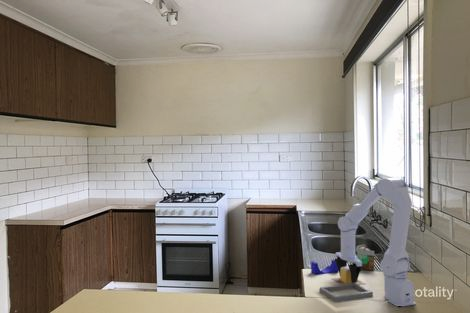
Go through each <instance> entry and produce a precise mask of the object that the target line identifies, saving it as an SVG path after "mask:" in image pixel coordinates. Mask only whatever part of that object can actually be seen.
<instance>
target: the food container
mask: <svg viewBox="0 0 470 313" xmlns="http://www.w3.org/2000/svg"><path fill="white" fill-rule="evenodd" d="M355 253H357V258H358V259H359V260H360V261H362V265H363V268H362V269H363V270H367V271H373V272H374V271H375V269H374V268H375V257H376V256H375V250H371V249H370V248H368V247H366V244H360V245H357V246H356V247H355ZM362 269H361V270H362Z"/></svg>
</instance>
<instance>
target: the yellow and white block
mask: <svg viewBox="0 0 470 313" xmlns="http://www.w3.org/2000/svg"><path fill="white" fill-rule="evenodd" d="M339 276H340V277H339V278H340V280H341V281H342V282H344V283H352V281H351V273H350V269H349V267H348V266H347V265H346V267H341V268H340V274H339Z"/></svg>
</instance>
